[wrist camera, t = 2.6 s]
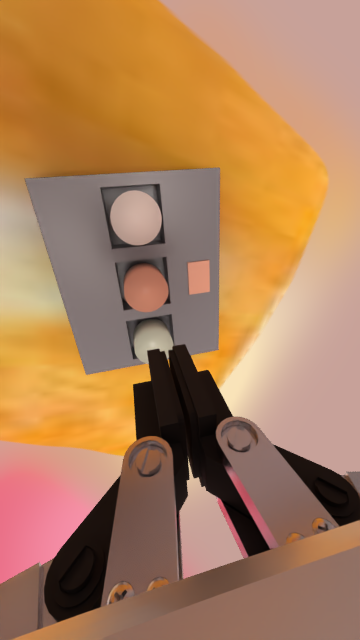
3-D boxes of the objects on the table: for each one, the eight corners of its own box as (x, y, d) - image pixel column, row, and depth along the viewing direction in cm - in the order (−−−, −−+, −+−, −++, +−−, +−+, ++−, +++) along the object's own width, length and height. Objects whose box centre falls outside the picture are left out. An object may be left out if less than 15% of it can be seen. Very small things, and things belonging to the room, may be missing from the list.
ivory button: (107, 193, 18) (105, 192, 16) (154, 190, 19) (158, 188, 16) (116, 242, 20) (115, 248, 18) (159, 238, 20) (164, 242, 18)
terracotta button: (120, 265, 21) (120, 273, 18) (161, 260, 21) (166, 267, 19) (127, 304, 22) (128, 315, 20) (165, 298, 23) (170, 308, 21)
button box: (37, 181, 19) (23, 178, 16) (207, 171, 21) (220, 167, 18) (89, 357, 27) (85, 376, 24) (209, 336, 29) (219, 350, 26)
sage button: (130, 322, 23) (131, 334, 21) (167, 316, 24) (172, 328, 22) (136, 352, 25) (137, 367, 23) (170, 346, 25) (175, 360, 23)
